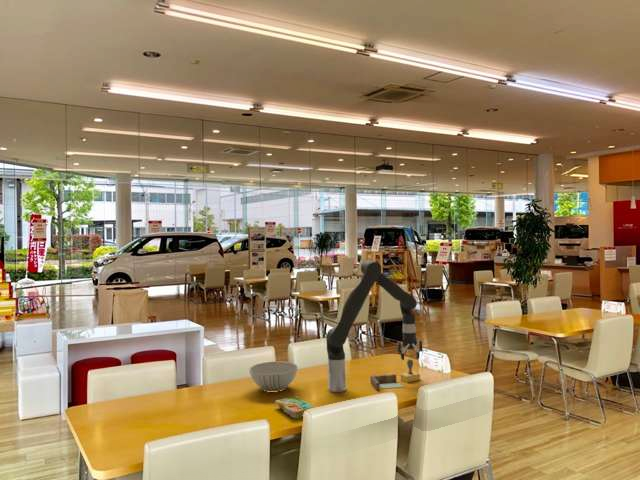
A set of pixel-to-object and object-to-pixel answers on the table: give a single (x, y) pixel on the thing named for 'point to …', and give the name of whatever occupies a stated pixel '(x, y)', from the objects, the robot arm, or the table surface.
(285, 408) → the puzzle game
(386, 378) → the corner fence
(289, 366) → the decorative bowl
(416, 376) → the rubber stamp
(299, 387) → the table surface
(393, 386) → the resting mat
